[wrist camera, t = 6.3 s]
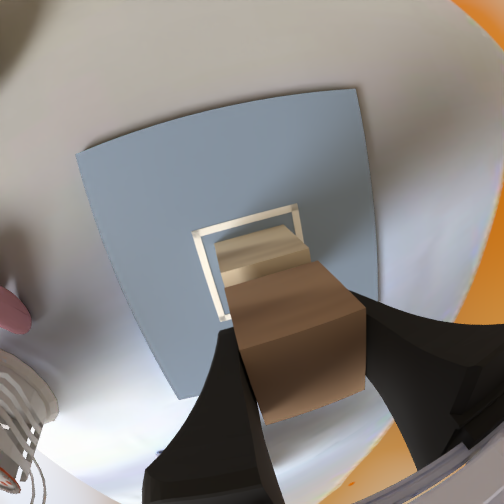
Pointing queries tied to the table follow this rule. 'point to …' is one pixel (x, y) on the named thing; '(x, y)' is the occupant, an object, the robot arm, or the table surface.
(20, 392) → the french press
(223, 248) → the birch block
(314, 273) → the walnut block
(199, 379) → the board
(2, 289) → the video game controller
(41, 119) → the table surface
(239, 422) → the robot arm
